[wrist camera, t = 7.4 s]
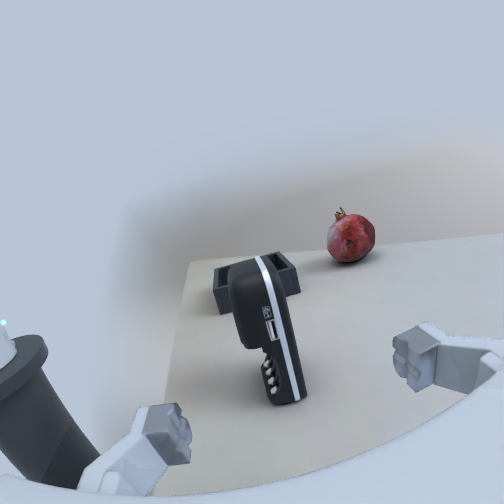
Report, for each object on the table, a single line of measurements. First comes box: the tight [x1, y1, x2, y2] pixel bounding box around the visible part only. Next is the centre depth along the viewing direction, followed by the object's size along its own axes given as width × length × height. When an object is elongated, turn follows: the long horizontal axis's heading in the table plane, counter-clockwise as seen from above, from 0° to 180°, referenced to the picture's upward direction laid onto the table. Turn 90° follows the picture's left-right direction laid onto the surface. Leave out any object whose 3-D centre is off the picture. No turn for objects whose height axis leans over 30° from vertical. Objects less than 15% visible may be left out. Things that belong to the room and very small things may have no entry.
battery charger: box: [227, 256, 307, 404], centre depth 23 cm, size 7×4×11 cm, turn 6°
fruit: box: [327, 207, 375, 262], centre depth 50 cm, size 9×10×10 cm
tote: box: [213, 252, 301, 314], centre depth 49 cm, size 13×13×4 cm
